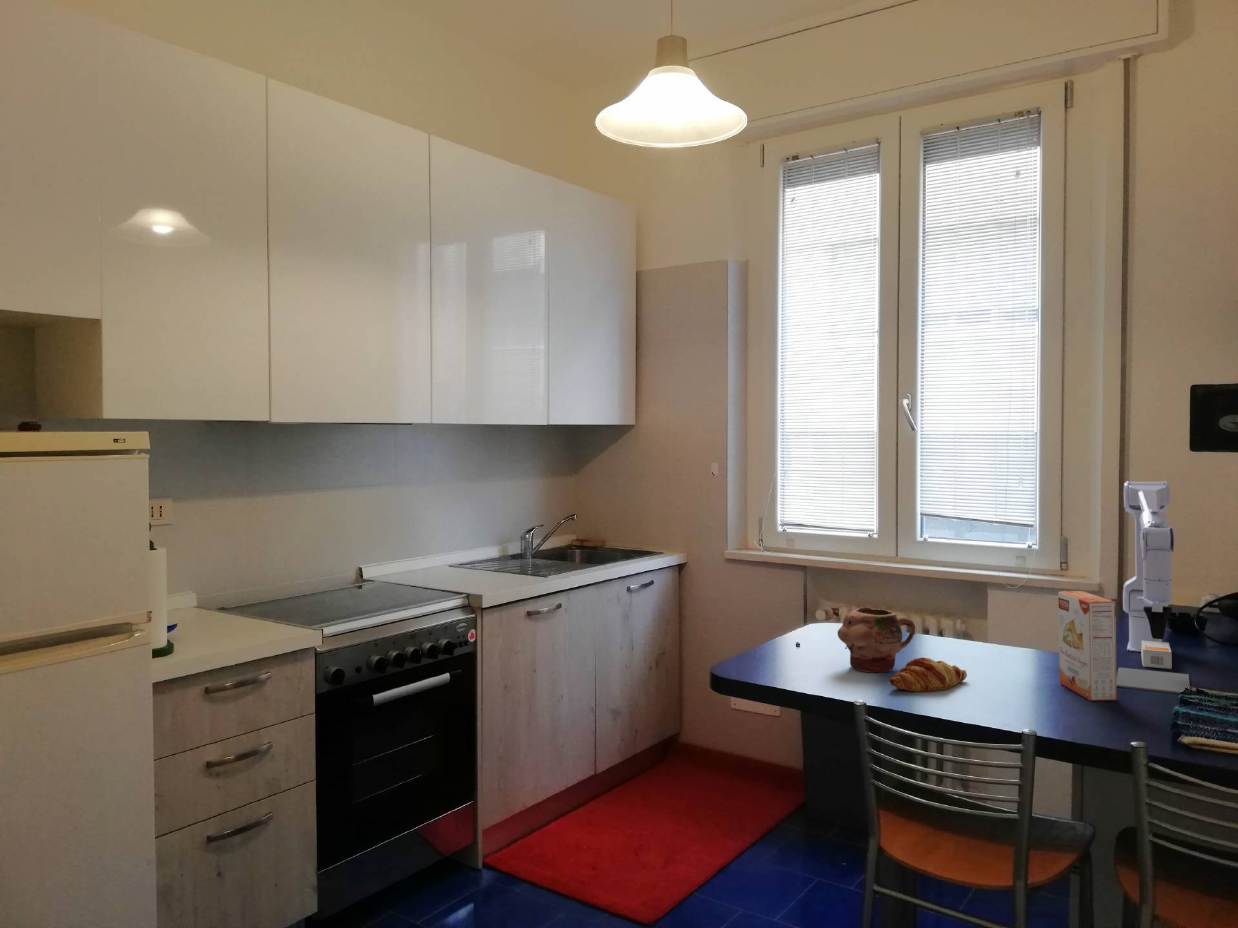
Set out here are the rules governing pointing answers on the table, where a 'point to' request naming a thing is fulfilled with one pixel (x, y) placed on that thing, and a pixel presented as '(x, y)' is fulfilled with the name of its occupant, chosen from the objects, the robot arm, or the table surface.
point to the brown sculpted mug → (874, 638)
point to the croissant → (927, 675)
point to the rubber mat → (1152, 680)
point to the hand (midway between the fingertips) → (1157, 638)
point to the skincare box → (1156, 654)
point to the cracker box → (1087, 645)
